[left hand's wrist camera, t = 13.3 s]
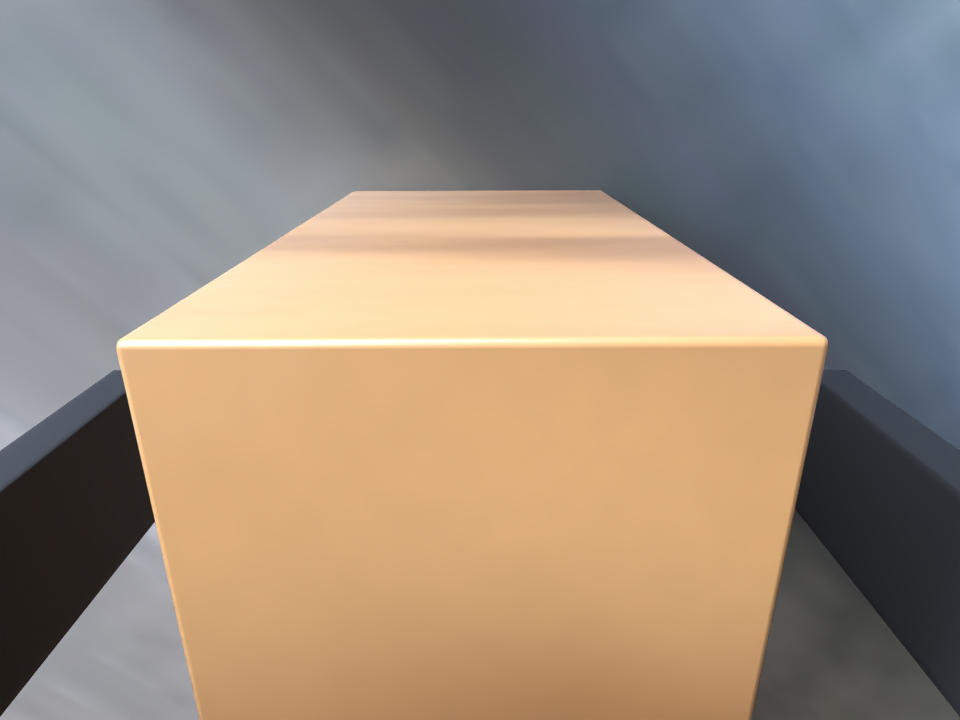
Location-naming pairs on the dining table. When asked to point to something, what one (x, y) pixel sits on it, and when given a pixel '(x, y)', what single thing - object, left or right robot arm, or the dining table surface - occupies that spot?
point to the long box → (474, 465)
